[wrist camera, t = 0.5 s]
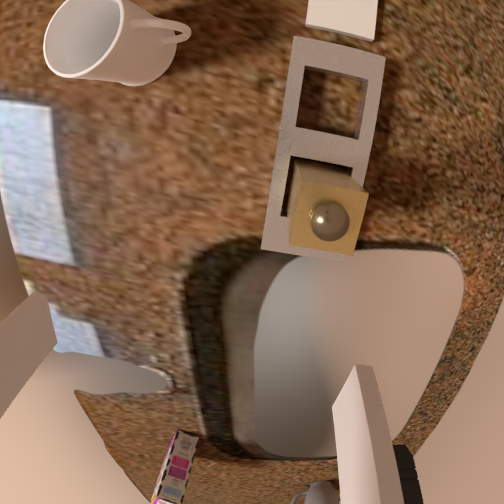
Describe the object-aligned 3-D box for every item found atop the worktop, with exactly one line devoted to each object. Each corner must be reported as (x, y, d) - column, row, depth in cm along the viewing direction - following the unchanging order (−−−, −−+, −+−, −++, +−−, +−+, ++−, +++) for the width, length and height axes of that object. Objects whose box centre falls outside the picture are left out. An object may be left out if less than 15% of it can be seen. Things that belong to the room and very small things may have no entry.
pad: (312, -26, 22) (313, -30, 21) (376, -11, 22) (378, -14, 21) (305, 26, 25) (305, 23, 24) (371, 41, 25) (373, 39, 24)
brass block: (294, 158, 31) (302, 182, 21) (341, 167, 31) (371, 196, 21) (286, 204, 33) (289, 249, 23) (331, 212, 33) (354, 260, 23)
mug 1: (213, 16, 25) (179, -28, 14) (199, 89, 29) (156, 78, 18) (114, 19, 25) (52, -6, 15) (102, 86, 29) (34, 84, 18)
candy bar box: (176, 427, 53) (155, 497, 39) (200, 436, 54) (183, 505, 39) (166, 448, 58) (147, 508, 43) (187, 455, 58) (171, 515, 44)
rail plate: (292, 41, 26) (293, 35, 24) (378, 60, 26) (385, 57, 24) (262, 239, 35) (260, 248, 33) (339, 252, 35) (343, 262, 33)
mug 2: (339, 476, 59) (341, 509, 50) (336, 488, 63) (338, 518, 54) (290, 480, 61) (289, 513, 52) (291, 491, 64) (290, 521, 55)
